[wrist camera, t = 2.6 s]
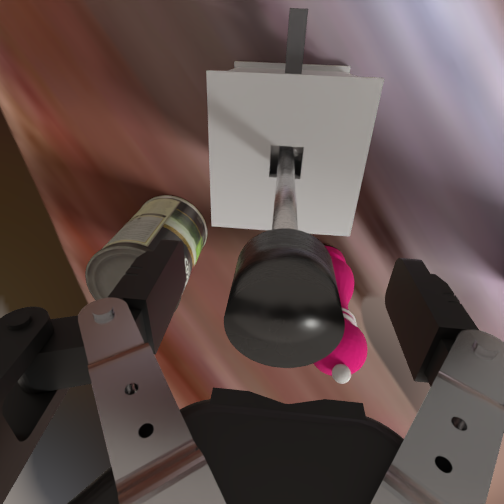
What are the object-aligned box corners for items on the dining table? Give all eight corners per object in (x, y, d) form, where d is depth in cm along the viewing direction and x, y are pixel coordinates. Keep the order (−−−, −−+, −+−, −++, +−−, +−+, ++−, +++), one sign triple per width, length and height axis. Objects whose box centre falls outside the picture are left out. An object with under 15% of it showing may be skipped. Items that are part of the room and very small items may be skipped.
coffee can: (217, 212, 45) (192, 271, 33) (194, 268, 50) (165, 336, 38) (146, 181, 44) (92, 231, 32) (130, 242, 49) (78, 304, 37)
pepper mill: (295, 245, 46) (299, 356, 29) (347, 239, 45) (383, 352, 28) (300, 285, 50) (307, 406, 33) (349, 281, 49) (382, 404, 32)
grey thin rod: (347, 93, 26) (498, 201, 7) (329, 198, 30) (394, 427, 12) (236, 88, 26) (114, 175, 8) (235, 191, 31) (157, 401, 12)
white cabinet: (355, 25, 33) (403, 7, 19) (330, 176, 41) (351, 238, 27) (236, 21, 33) (200, 0, 20) (234, 170, 42) (209, 228, 28)
